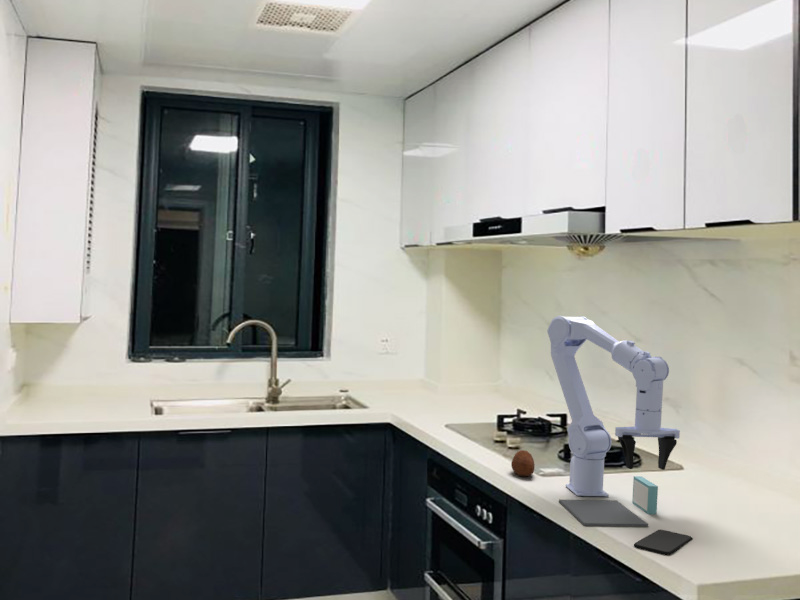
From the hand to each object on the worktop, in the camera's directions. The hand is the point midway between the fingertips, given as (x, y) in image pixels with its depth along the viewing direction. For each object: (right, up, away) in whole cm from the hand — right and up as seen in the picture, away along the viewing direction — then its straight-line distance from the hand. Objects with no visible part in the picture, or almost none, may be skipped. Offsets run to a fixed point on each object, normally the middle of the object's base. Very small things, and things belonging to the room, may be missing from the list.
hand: (645, 468), depth 181 cm
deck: (0, -10, +1) cm, 10 cm away
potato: (-24, -8, +29) cm, 38 cm away
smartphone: (-4, -10, -24) cm, 26 cm away
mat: (-12, -9, -5) cm, 16 cm away
